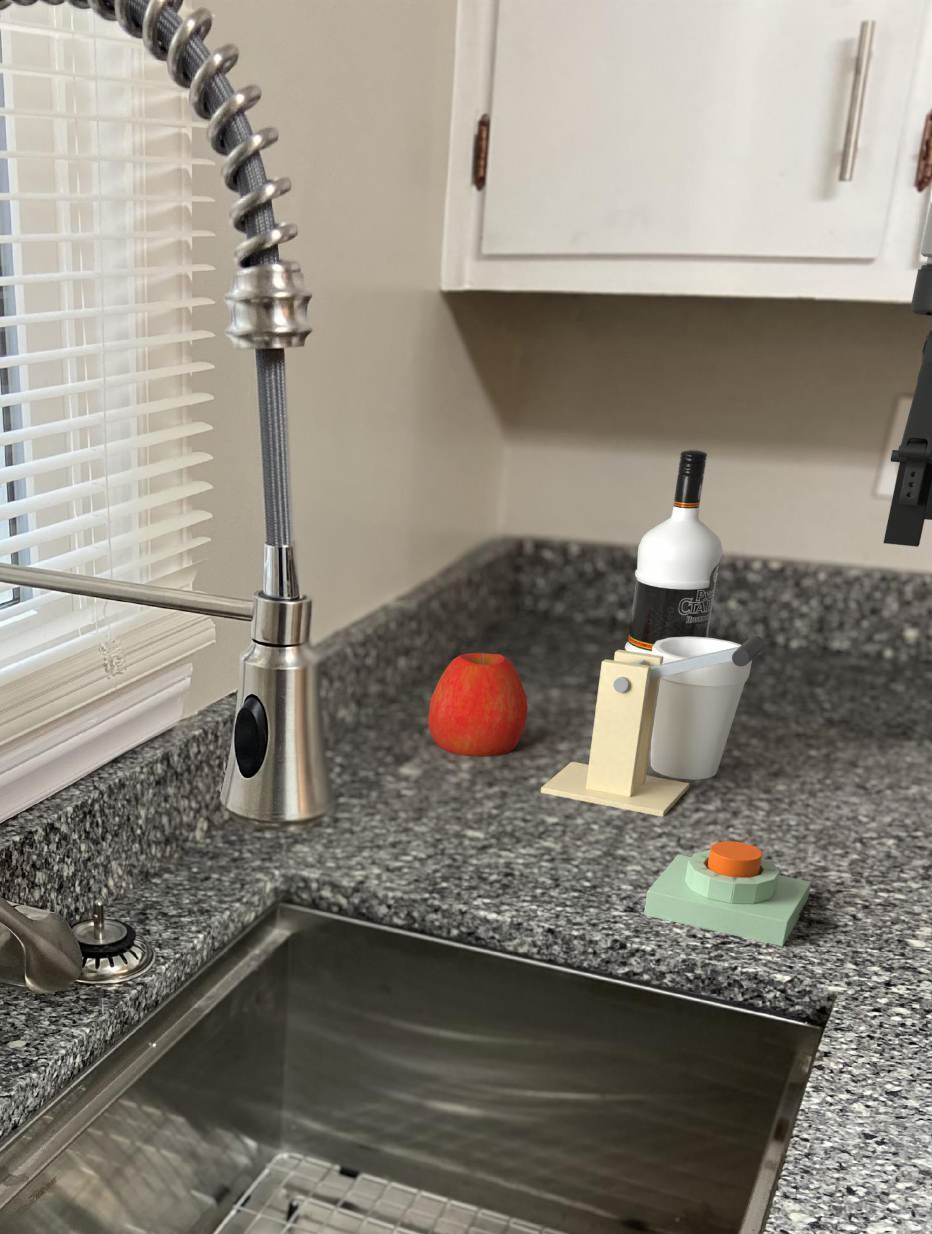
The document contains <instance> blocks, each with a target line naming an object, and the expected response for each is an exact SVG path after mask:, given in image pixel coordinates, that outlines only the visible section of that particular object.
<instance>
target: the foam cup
mask: <svg viewBox="0 0 932 1234" xmlns="http://www.w3.org/2000/svg"><path fill="white" fill-rule="evenodd" d="M741 645H742V644H740V643H736V642H734V641H730V640H725V639H719V638H712V637H707V638H703V637H672V638H666V639H663V640H659V641H656V643H655V644H654V645H653V648H652V655H659V656H663V664H664V663H669V662H673V661H677V660H682V659H686V658H691V657H695V656H699V655H704V654H708V653H713V652H717V651H721V650H726V649H730V648H735V647H739V646H741ZM752 663H753V659H752V660H751V661H750V662H749V663H748V664H747V665H745V666H737V665H735V664H734V663H733V661H731V662H726V663H722V664H717V665H712V666H708V667H703V668H699V669H694V670H690V671H685V672H681V673H676V674H672V675H667V676H663V677H660V684H659V691H658V698H657V705H656V712H655V719H654V726H653V732H652V739H651V746H650V767H651V769H652V770H653V771H654V772H656V773H658V774H661V775H663V776H666V777H670V778H673V779H680V780H693V781H694V780H706V779H710V778H712V777H715V776H716V774H717V772H718V770H719V767H720V764H721V761H722V757H723V754H724V751H725V748H726V745H727V741H728V738H729V735H730V732H731V729H732V725H733V722H734V719H735V716H736V713H737V709H738V706H739V703H740V699H741V696H742V693H743V691H744V686H745V683H746V682H747V681H748V680H749V677H750V673H751V667H752Z"/></svg>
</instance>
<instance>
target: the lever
mask: <svg viewBox="0 0 932 1234" xmlns="http://www.w3.org/2000/svg"><path fill="white" fill-rule="evenodd" d="M740 645H741V646H739V647H735V648H730V649H726V650H721V651H717V652H713V653H708V654H704V655H699V656H695V657H691V658H686V659H682V660H677V661H673V662H669V663H664V664H660V665H655V666H651V671H650V678H649V685H650V684H651V682H650V679H654V678H658V677H663V676H667V675H672V674H676V673H681V672H685V671H690V670H694V669H699V668H703V667H708V666H712V665H717V664H722V663H726V662H731V661H733V663H734V664H735V665H737V666H745V665H747V664H748V663H749V662H750V661H751V660H752V661H753V659H754V658H755V657H756V656H757V655H758V654H759V653H760V652H762V650H763V649H764V647H765V641H764V639H763V638H762V637H761V636H759V635H753V636H750V637H749V638H748V639H747V640H746V641H744V642H743V643H742V644H740ZM631 663H634V664H640V665H646V662H645V660H640V661H636V662H631Z"/></svg>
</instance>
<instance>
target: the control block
mask: <svg viewBox="0 0 932 1234" xmlns="http://www.w3.org/2000/svg"><path fill="white" fill-rule="evenodd" d="M709 854H710V849H707V850H703V851H699V852H696V853H693V854H692V856H687V855H683V854H680V853H679V854H677V855H676V856H675V857H674V858H673V860H672V861H671V862H670V863H669V864H668V866H666V868H665V869H664V870H663V871H662V873H661V874H660V876H658V878H657V879H656V880H655V881H654V882H653V883H652V885H651V886H650V887H649V888H648V889H647V891H646V898H645V904H644V911H643V915H644V916H646V917H647V916H648V917H652V918H656V919H660V920H664V921H670V922H674V923H678V924H682V925H687V926H691V927H695V928H700V929H704V930H709V931H713V932H718V933H722V934H725V935H726V934H727V935H730V936H735V937H739V938H744V939H747V940H752V941H757V942H761V943H765V944H770V945H774V946H778V947H784V945H785V943H786V942H787V940H788V938H789V936H790V935H791V933H792V932H793V929H794V928H795V926H796V925H797V923H798V921H799V919H800V918H801V916H802V914H801V911H802V910H803V908H804V907H805V904H806V903H807V901H808V899H809V895H810V891H811V885H812V881H808V880H803V879H800V878H794V877H790V876H784V875H780V874H781V873H780V870H779V869H778V867H777V866H776V865H775V864H774V862H772V861H770V860H768V859H766V858H764V857H762V859H761V864H760V870H759V874H758V876H754V877H751V878H737V877H729V876H725V875H720V874H717V873H715V872H713V871H711V870H709V869H708V868H707V866H708V860H709Z"/></svg>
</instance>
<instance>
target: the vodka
mask: <svg viewBox="0 0 932 1234" xmlns="http://www.w3.org/2000/svg"><path fill="white" fill-rule="evenodd" d="M679 455H680V457H679V459H680V460H679V463H678V469H677V470H678V471H677V473H678V474H677V478H676V485H675V492H674V499H673V508H672V511H671V515H670V517H669V518H667V519H666V520H664V521H663V522H661V523H659V524H658V525H656V526H654V527H653V528H651V529H649V530H648V531H647V532H646V533H645V534H644V535H643V536H642V538H641V539H640V542H639V545H638V547H637V564H636V565H637V567H636V569H635V571H634V575H635V578H636V579H635V585H634V594H633V601H632V609H631V615H630V623H629V631H628V639H627V642H626V643H625V645H624V650H625V651H632V652H639V653H645V654H652V648H653V645H654V644H655V643H656V641H659V640H663V639H666V638H672V637H703V638H709V637H708V636H709V629H710V623H711V617H712V610H713V605H714V600H715V599H714V598H715V592H716V586H717V580H718V574H719V566H720V560H721V558H722V556H723V544H722V540H721V539H720V536H718V535H717V534H716V533H715V532H714V531H713V530H712V529H711V528H709V527H708V526H707V525H706V524H705V523H704V522H702V520H701V519H700V518H699V515H700V503H701V498H702V491H703V484H704V475H705V469H706V463H707V457H708V453H707V452H706V451H703V450H699V449H687V450H683V451H681V452H680V454H679Z"/></svg>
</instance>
